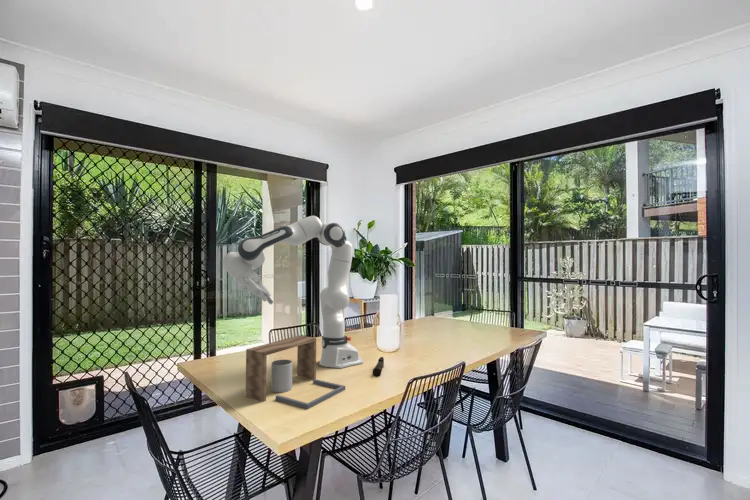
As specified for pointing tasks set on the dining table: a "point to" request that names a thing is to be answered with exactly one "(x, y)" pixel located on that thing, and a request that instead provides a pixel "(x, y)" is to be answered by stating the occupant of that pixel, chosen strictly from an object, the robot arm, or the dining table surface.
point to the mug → (281, 375)
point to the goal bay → (308, 405)
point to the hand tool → (378, 367)
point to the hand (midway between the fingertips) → (269, 301)
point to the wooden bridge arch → (258, 355)
